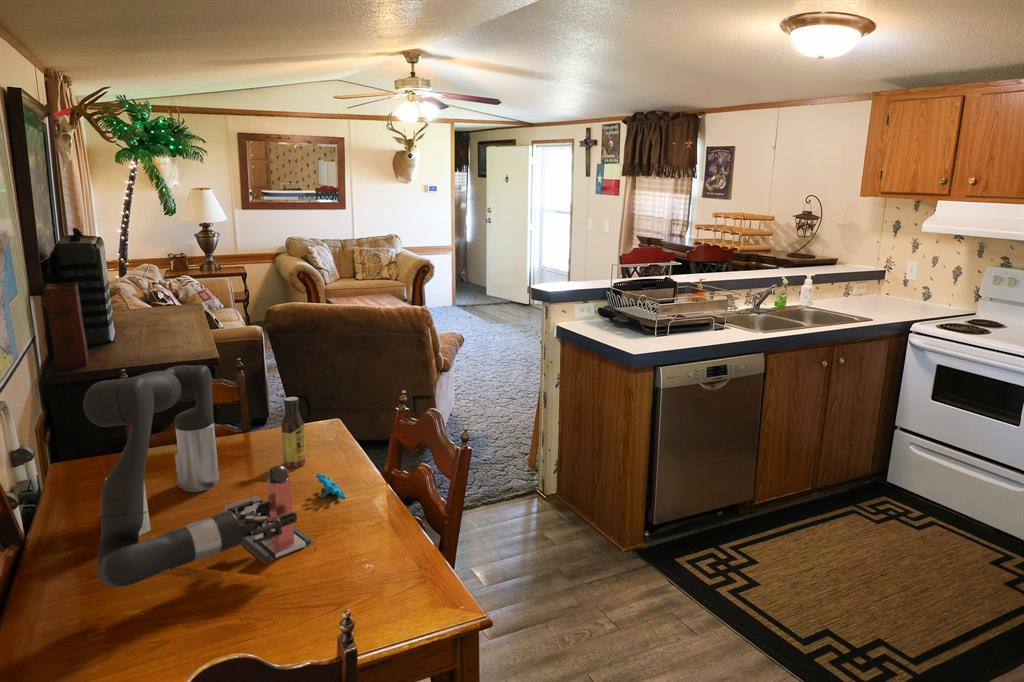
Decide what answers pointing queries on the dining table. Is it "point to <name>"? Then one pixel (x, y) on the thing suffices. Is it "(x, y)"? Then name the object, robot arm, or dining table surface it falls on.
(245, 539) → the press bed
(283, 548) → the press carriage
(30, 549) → the dining table surface
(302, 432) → the sauce bottle
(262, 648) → the dining table surface
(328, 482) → the gear
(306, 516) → the dining table surface
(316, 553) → the dining table surface
